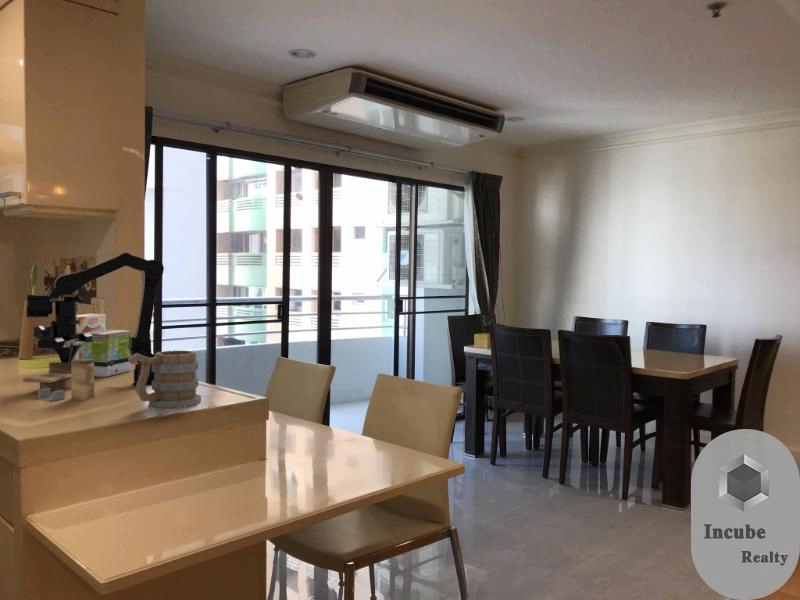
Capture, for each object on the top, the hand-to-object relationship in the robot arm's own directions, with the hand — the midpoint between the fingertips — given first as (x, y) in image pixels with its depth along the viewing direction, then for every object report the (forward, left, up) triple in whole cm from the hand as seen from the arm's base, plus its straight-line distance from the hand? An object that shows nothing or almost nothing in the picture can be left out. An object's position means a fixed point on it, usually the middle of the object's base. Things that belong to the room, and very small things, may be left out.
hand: (66, 368), depth 195 cm
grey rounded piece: (-7, +18, -6) cm, 20 cm away
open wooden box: (0, 0, -6) cm, 6 cm away
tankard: (-39, +17, -6) cm, 42 cm away
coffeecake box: (+18, -39, -6) cm, 44 cm away
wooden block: (-15, +16, -6) cm, 23 cm away
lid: (0, +7, -2) cm, 7 cm away
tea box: (+4, -30, -6) cm, 31 cm away
